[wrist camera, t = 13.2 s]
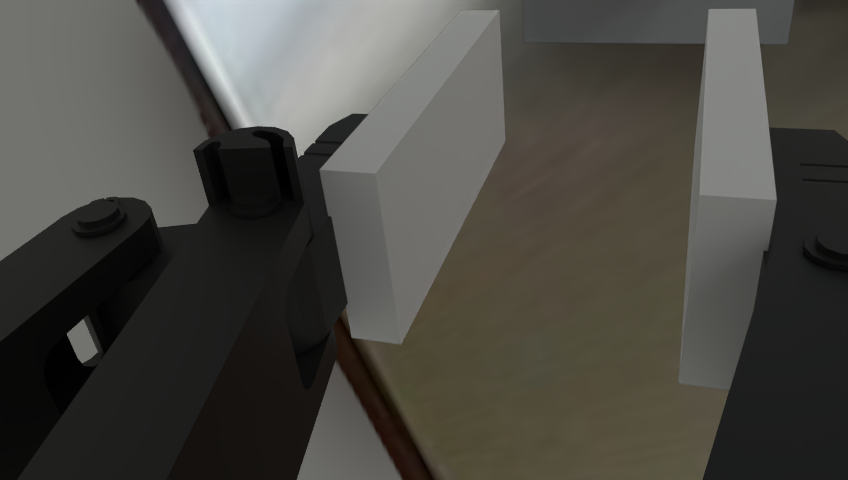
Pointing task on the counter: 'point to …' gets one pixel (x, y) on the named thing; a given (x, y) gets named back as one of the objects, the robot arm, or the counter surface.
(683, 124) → the counter surface
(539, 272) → the counter surface
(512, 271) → the counter surface
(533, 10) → the button housing
